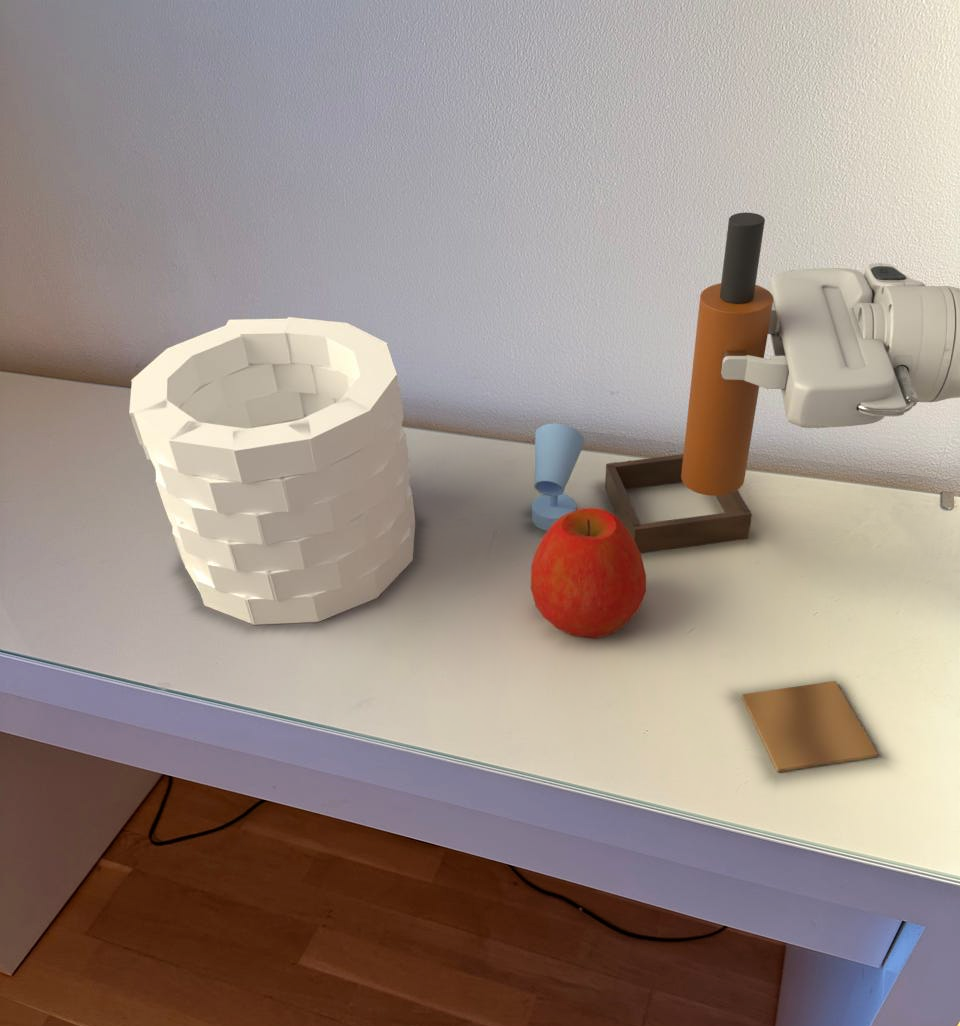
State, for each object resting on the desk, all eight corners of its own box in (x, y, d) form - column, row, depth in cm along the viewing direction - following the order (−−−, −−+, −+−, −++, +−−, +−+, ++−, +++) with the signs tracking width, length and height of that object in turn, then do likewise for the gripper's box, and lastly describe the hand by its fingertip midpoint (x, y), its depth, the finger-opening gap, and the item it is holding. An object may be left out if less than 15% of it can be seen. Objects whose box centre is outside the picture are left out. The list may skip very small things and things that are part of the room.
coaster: (834, 683, 80) (835, 680, 80) (877, 757, 74) (878, 753, 74) (741, 697, 79) (742, 694, 79) (777, 772, 74) (778, 769, 73)
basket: (413, 620, 88) (389, 442, 75) (157, 631, 89) (90, 457, 76) (423, 468, 107) (405, 304, 94) (211, 478, 107) (163, 317, 94)
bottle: (732, 457, 89) (770, 201, 73) (753, 491, 85) (797, 228, 69) (673, 464, 89) (698, 209, 73) (691, 499, 85) (722, 237, 69)
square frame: (710, 473, 103) (713, 449, 101) (748, 538, 95) (752, 514, 92) (604, 487, 102) (605, 463, 100) (633, 554, 94) (635, 529, 92)
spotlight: (538, 494, 102) (524, 533, 97) (537, 410, 95) (521, 448, 90) (584, 499, 101) (572, 538, 96) (586, 414, 94) (573, 453, 89)
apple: (553, 566, 93) (553, 475, 86) (657, 588, 90) (666, 496, 83) (515, 634, 86) (512, 541, 79) (626, 661, 83) (633, 567, 76)
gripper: (912, 450, 71) (721, 447, 73) (867, 324, 86) (709, 324, 88) (935, 373, 67) (732, 371, 69) (883, 254, 81) (717, 255, 83)
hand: (719, 343), depth 78 cm, fingers closed on bottle, 5 cm apart
